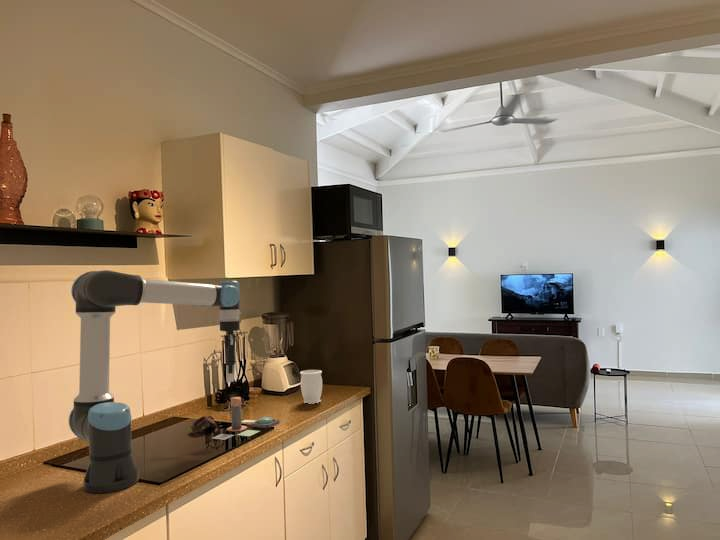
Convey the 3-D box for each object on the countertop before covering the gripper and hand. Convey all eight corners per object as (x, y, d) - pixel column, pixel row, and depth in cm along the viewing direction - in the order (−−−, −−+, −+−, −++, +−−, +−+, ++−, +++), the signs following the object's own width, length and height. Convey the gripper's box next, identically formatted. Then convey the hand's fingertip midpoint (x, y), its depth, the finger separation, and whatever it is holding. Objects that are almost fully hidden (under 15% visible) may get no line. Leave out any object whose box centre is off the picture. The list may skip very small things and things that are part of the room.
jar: (297, 404, 256) (296, 372, 256) (307, 399, 265) (306, 369, 265) (316, 405, 251) (315, 373, 252) (326, 400, 261) (325, 369, 261)
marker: (240, 429, 210) (239, 399, 210) (230, 429, 210) (229, 399, 210) (243, 426, 214) (242, 396, 214) (233, 427, 214) (232, 397, 214)
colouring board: (238, 447, 192) (237, 440, 192) (198, 443, 199) (198, 436, 199) (281, 425, 218) (281, 419, 218) (245, 422, 226) (245, 416, 226)
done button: (267, 426, 212) (267, 421, 212) (254, 425, 215) (254, 420, 215) (275, 422, 218) (275, 417, 218) (263, 421, 220) (263, 416, 220)
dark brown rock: (217, 438, 206) (205, 422, 204) (196, 449, 207) (185, 432, 205) (224, 422, 217) (213, 406, 216) (205, 432, 218) (194, 416, 217)
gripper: (241, 321, 203) (242, 383, 202) (237, 319, 215) (237, 378, 214) (221, 321, 200) (222, 385, 199) (218, 320, 212) (218, 379, 211)
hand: (230, 381), depth 206 cm, fingers closed
